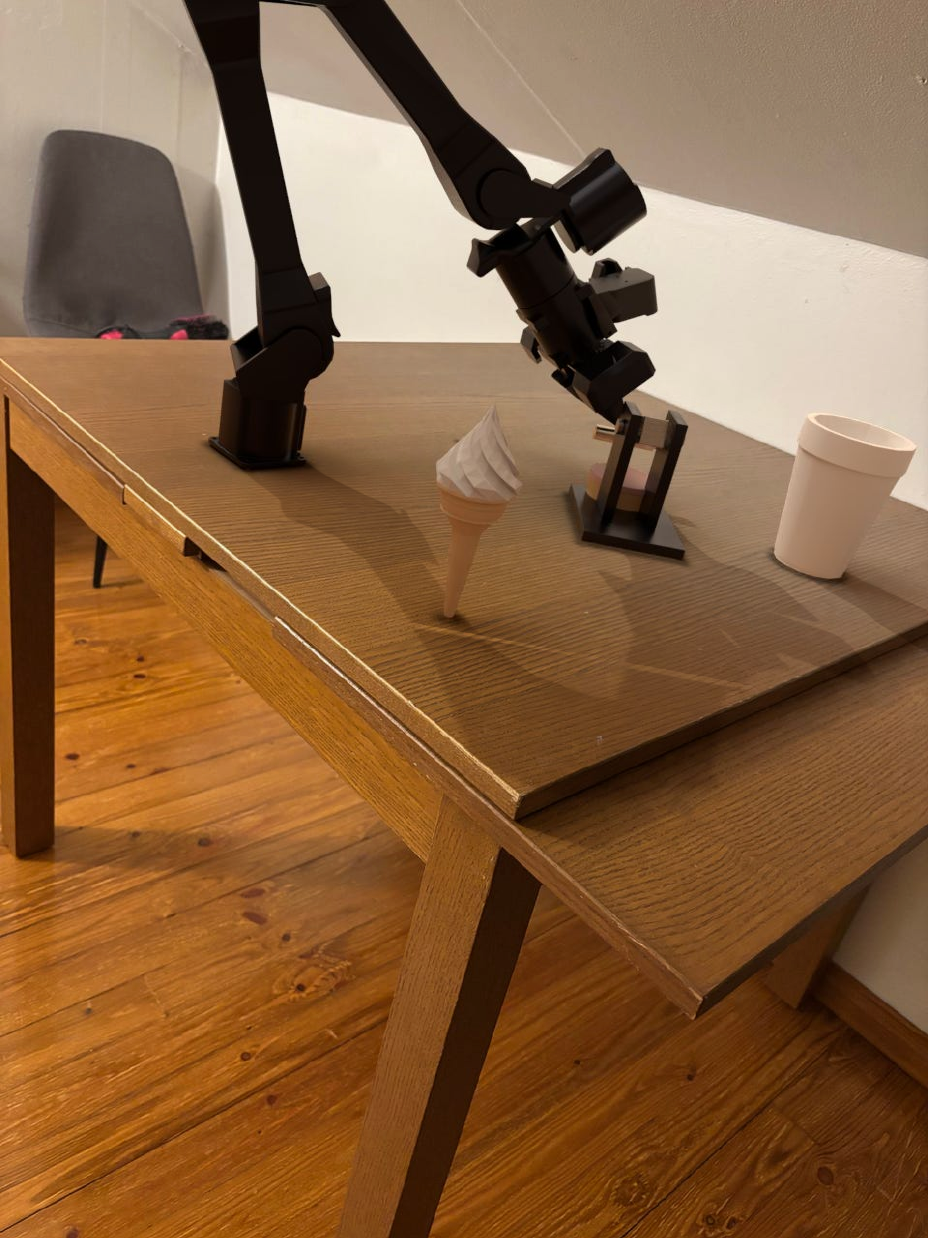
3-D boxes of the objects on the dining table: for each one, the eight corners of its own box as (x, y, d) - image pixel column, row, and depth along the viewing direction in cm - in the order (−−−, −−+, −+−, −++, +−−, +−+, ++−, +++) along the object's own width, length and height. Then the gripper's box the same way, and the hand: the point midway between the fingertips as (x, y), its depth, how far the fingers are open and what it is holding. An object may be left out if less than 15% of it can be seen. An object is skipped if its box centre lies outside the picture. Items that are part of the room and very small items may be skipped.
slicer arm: (590, 444, 96) (595, 419, 96) (649, 456, 97) (654, 431, 96) (617, 438, 84) (623, 410, 84) (684, 452, 85) (690, 424, 84)
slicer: (567, 494, 95) (597, 384, 90) (657, 512, 95) (692, 404, 91) (580, 543, 84) (615, 421, 79) (681, 563, 85) (721, 444, 80)
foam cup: (752, 565, 88) (804, 426, 82) (759, 534, 96) (808, 405, 90) (859, 599, 86) (921, 459, 80) (857, 565, 94) (913, 435, 88)
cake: (618, 527, 90) (629, 492, 88) (567, 498, 94) (576, 465, 92) (662, 519, 94) (673, 486, 92) (611, 493, 98) (621, 460, 96)
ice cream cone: (459, 648, 63) (512, 424, 56) (389, 614, 65) (432, 394, 59) (502, 622, 68) (555, 412, 61) (435, 591, 70) (479, 384, 63)
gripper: (668, 251, 78) (740, 404, 86) (581, 215, 93) (649, 347, 102) (552, 336, 78) (635, 479, 87) (485, 286, 94) (561, 412, 103)
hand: (621, 423), depth 95 cm, fingers closed
